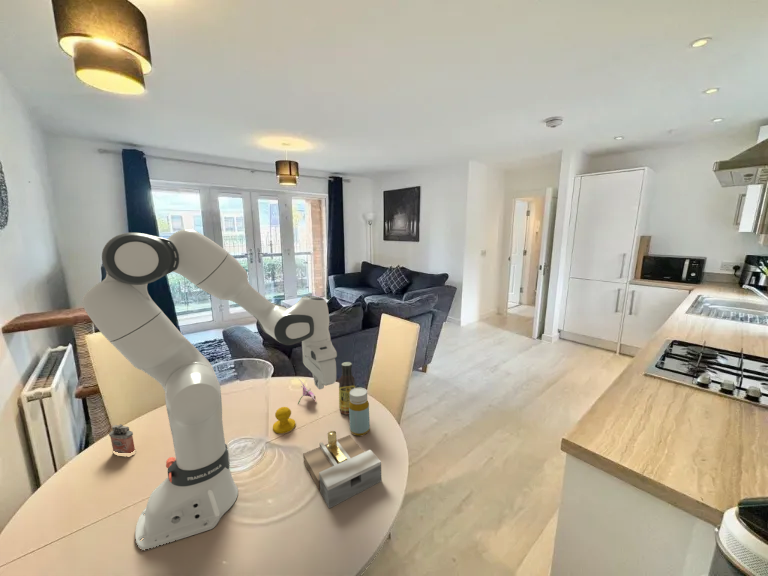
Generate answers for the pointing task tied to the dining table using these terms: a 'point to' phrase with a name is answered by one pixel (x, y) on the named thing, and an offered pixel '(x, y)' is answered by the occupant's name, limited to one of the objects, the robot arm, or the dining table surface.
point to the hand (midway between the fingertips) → (319, 386)
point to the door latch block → (342, 470)
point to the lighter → (122, 439)
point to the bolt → (335, 448)
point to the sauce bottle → (345, 387)
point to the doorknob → (283, 421)
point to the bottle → (359, 412)
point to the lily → (306, 392)
